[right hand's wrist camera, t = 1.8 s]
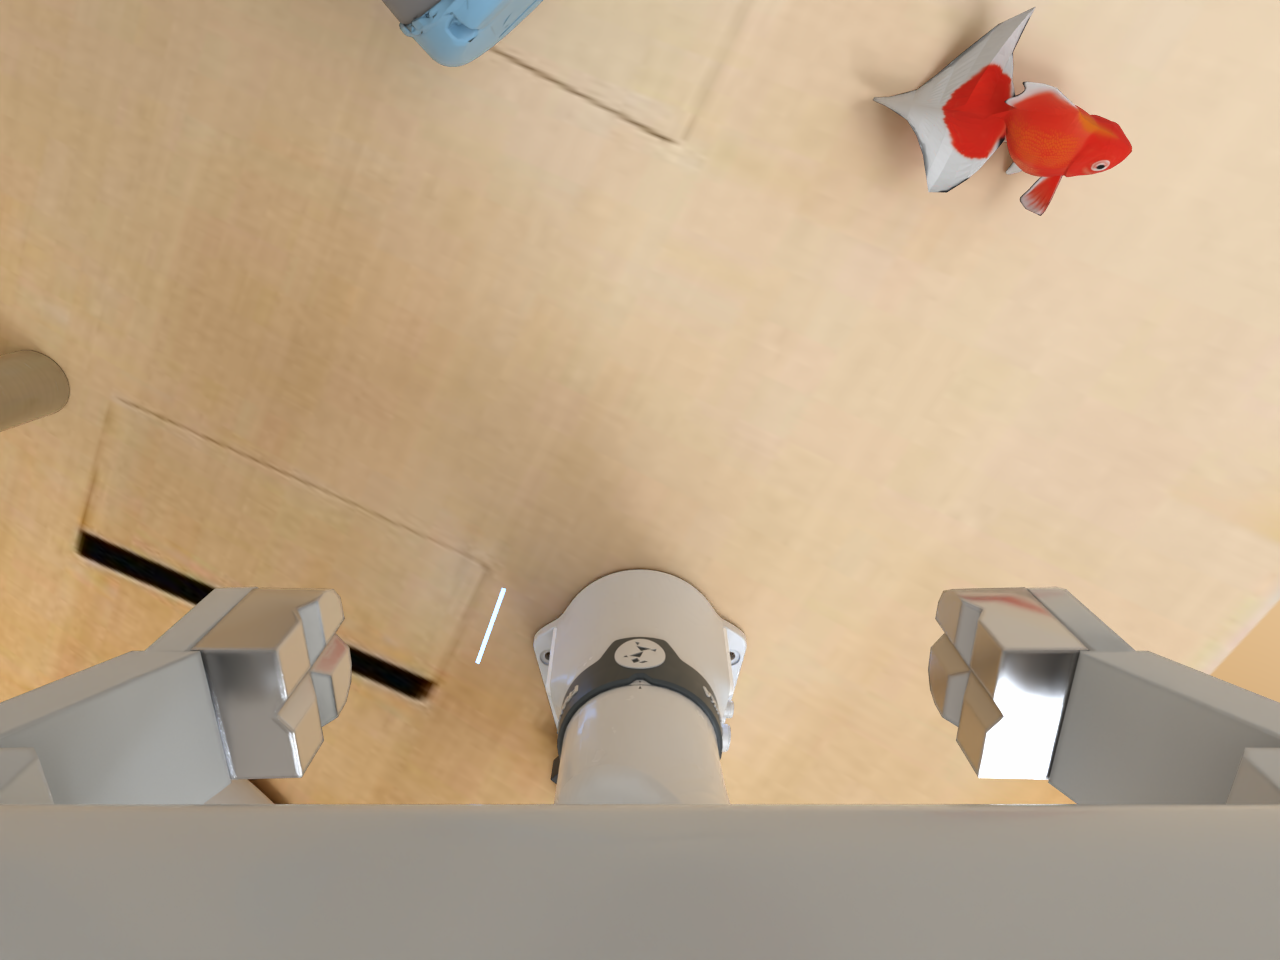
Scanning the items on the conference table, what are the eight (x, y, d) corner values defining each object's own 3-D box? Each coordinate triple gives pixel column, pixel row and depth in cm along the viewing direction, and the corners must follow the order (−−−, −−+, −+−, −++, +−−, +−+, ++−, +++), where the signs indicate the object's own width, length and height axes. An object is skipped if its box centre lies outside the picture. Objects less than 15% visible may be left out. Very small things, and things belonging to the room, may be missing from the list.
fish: (1032, 289, 50) (1092, 212, 41) (836, 185, 54) (849, 93, 45) (1119, 165, 51) (1199, 59, 41) (918, 70, 55) (949, -46, 45)
